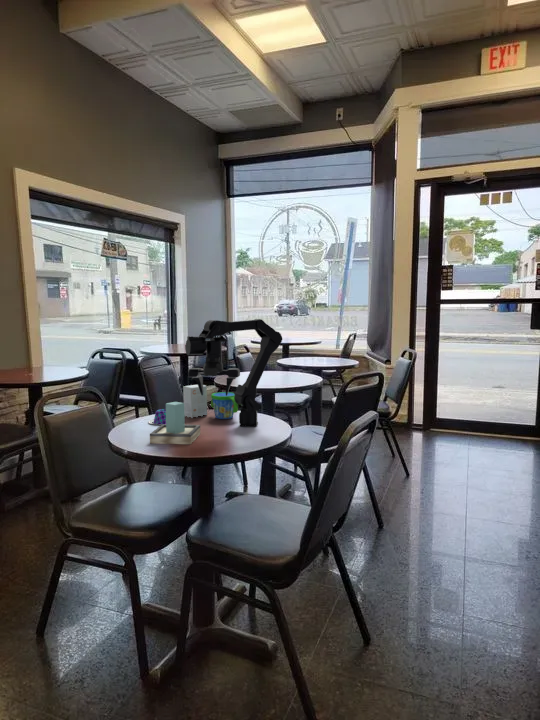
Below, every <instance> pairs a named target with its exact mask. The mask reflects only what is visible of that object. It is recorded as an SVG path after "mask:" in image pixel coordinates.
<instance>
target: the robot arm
mask: <svg viewBox="0 0 540 720" xmlns="http://www.w3.org/2000/svg"><path fill="white" fill-rule="evenodd" d="M252 330H254V331H255V332H256V333H257V335H258V336H259V338H261V339H260V342H259V344H260V347H259V352H258V353H257V357H256V358H255V361H254V363H253V364H252V367H251V370H250V371H249V374H248V376H247V377H246V379H245V382H244V383H243V384H237V387H236V390H235V392H233V393H234V394H235V396H234V399H235V402H236V403H237V405H238V409H240V412H239V415H238V424H239V426H240V427H255V428H256V427H258V424H259V422H258V412H259V411H260V409H261V404H260V403H259V402H257V401H256V398H257V387H258V385H259V382H260V380H261V378H262V376H263V374H264V371H265V369H266V367H267V365H268V362H269V360H270V359H271V356H272V354H273V353H275V351H276V350H278V349H279V347H280V345H282V342H283V336H282V333H281V332H279V331H277V330H275V329H274V328H273V327H272V326H270V325H268V324H267V323H266V322H265V321H264V320H263V319H262V318H254V319H249V320H248V319H246V320H234V321H225V320H218V319H217V320H216V319H215V320H211V319H210V320H207V321H206V322H205V323H204V326H203V329H202V331H201V332H200V334H199V335H198V336H191V335H188V336H187V337H186V338H187V339H186V340H185V345H184V350H185V354H186V355H187V356H197V355H198V356H201V355H204V354H205V353H206V354H205V355H206V356H205V363H204V364H203V366H202V367H203V368H201V367H191V368H190V369H188V370H187V377H188V378H191V379H192V380H194V381H195V382H196V385H198V387H199V389H200V392H201V395H203V385H204V377H208V376H211V377H216V376H227V377H226V378H225V379H226V386H225V392H226V396H227V395H228V392H230V391H229V390H230V388H231V386H232V383H233V381H234V380H236V379H237V378H239V377H240V376H241V370H240V369H239V368H238V367H237V368H235V367H233V368H231V367H229V368H228V369H226V370H225V369H224V364H223V359H222V357H223V355H222V354H223V350H222V349H223V347H222V345H223V344H222V343H225V342H228V339H227V338H226V337H224V335H226V334H228V333H231V332H239V331H252ZM203 376H204V377H203Z"/></svg>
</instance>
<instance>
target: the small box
mask: <svg viewBox="0 0 540 720" xmlns="http://www.w3.org/2000/svg"><path fill="white" fill-rule="evenodd" d="M207 388H208V387H207V385H205V384H203V395H201V392H200V389H199V387H198V384H193V385H192V384H191V385H185V386H184V385H183V386H182V391H183V392H182V393H183V396H182V397H183V403H184V415H185V417H186V416H187V417H186V418H189V417H191V418H190V419H194V418H193V417H196V418H199V417H198V416H201V417H204V416H203V415H207V416H208V389H207Z"/></svg>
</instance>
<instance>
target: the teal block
mask: <svg viewBox="0 0 540 720" xmlns="http://www.w3.org/2000/svg"><path fill="white" fill-rule="evenodd" d="M165 409H166V432H169V433H174V434H176V433H180V432H184V431H185V425H186V423H185V417H186V416H185V415H184V402H181V401H180V402H178V401H173V402H172V401H171V402H167V403H165Z"/></svg>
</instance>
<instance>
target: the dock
mask: <svg viewBox="0 0 540 720" xmlns="http://www.w3.org/2000/svg"><path fill="white" fill-rule="evenodd" d="M200 435H201V424H185V431H184V432H180V433H176V434H174V433H169V432H166V424H162V425H159V426H158V427H157V428H155V429H154V430H153V431H151V433H149V443H150V444H155V445H156V444H159V445H160V444H161V445H192V444H193V443H194V442H195V441H196V439H197V438H198V437H199V436H200ZM192 442H193V443H192Z"/></svg>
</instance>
